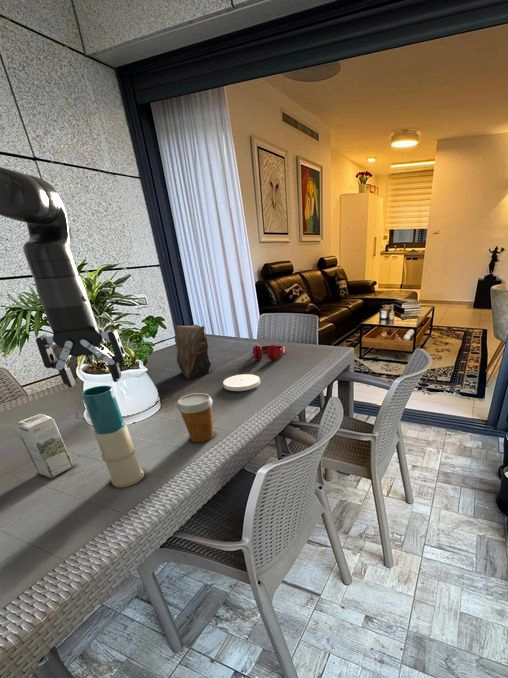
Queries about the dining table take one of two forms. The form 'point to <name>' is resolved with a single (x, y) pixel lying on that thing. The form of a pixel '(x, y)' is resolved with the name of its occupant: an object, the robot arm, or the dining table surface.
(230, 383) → the plastic lid
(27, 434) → the syrup box
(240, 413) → the dining table surface
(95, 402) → the teal cup
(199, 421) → the disposable coffee cup
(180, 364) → the brown stone chunk
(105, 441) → the cup stack
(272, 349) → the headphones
